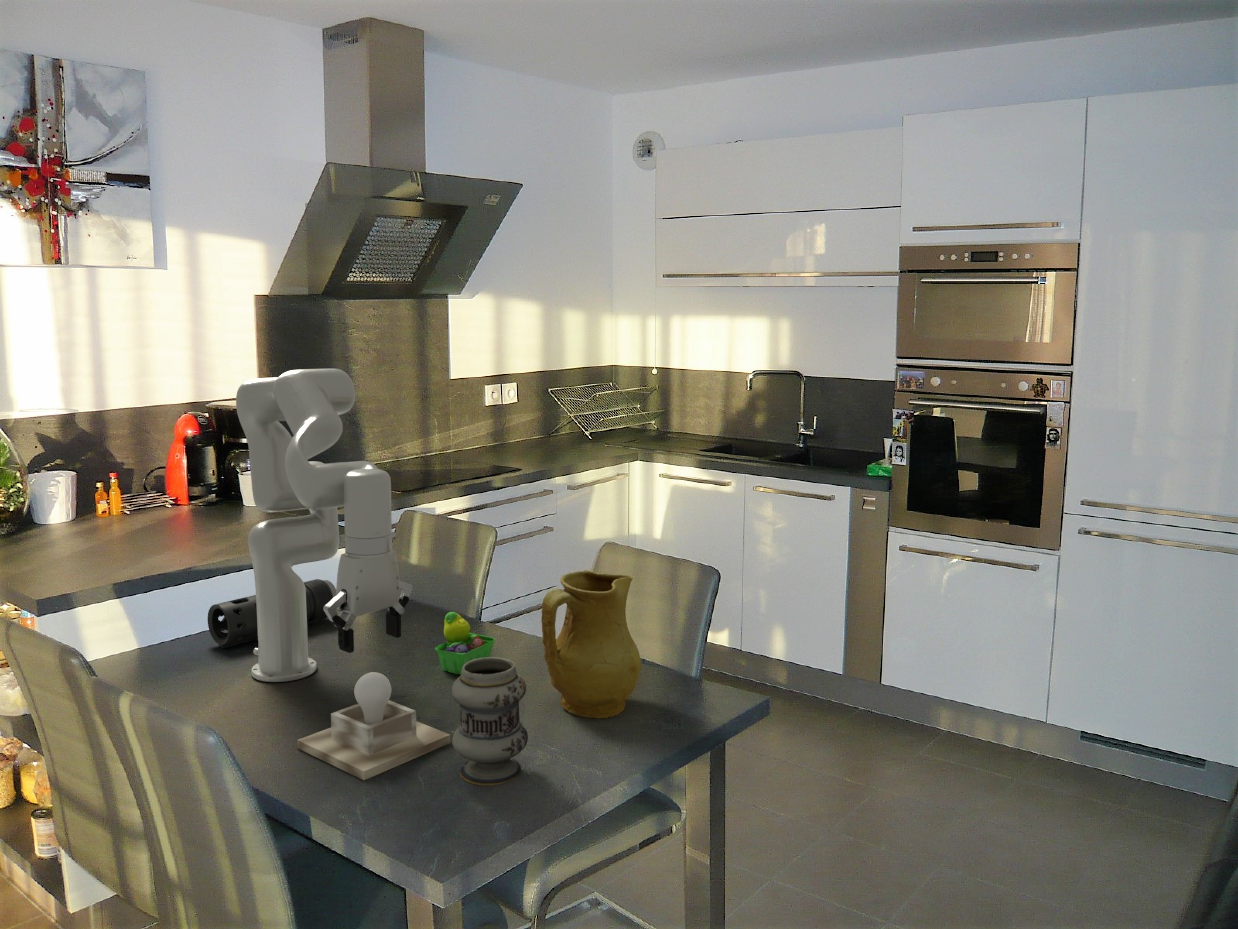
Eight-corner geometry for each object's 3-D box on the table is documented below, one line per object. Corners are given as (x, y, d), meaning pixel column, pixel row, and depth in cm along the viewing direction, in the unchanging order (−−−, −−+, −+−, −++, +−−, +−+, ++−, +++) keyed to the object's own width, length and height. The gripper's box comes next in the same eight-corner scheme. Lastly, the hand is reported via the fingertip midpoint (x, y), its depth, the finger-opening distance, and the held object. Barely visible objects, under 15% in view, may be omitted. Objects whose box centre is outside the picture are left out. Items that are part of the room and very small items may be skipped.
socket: (297, 748, 171) (296, 714, 170) (383, 715, 185) (382, 684, 184) (364, 780, 160) (363, 744, 159) (450, 743, 174) (449, 709, 173)
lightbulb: (395, 727, 175) (394, 667, 174) (388, 742, 169) (387, 680, 168) (360, 727, 175) (358, 667, 174) (351, 742, 169) (349, 680, 168)
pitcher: (644, 723, 183) (647, 589, 179) (541, 725, 181) (541, 590, 177) (636, 688, 200) (638, 564, 196) (541, 689, 198) (541, 565, 194)
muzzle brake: (207, 645, 222) (205, 599, 220) (317, 615, 243) (316, 573, 242) (231, 654, 216) (228, 608, 214) (341, 623, 237) (340, 581, 236)
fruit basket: (463, 678, 204) (462, 624, 202) (429, 670, 208) (428, 617, 206) (497, 661, 213) (496, 610, 212) (463, 654, 218) (463, 603, 216)
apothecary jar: (463, 753, 170) (462, 650, 167) (534, 757, 169) (534, 653, 166) (443, 787, 158) (442, 677, 155) (519, 791, 157) (519, 680, 154)
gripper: (395, 531, 176) (397, 625, 179) (309, 549, 163) (313, 651, 166) (424, 538, 171) (425, 635, 174) (338, 558, 158) (341, 662, 161)
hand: (370, 643), depth 170 cm, fingers open, 9 cm apart
